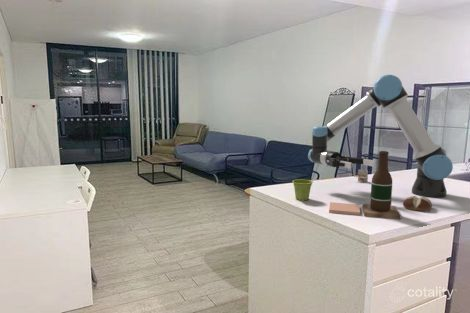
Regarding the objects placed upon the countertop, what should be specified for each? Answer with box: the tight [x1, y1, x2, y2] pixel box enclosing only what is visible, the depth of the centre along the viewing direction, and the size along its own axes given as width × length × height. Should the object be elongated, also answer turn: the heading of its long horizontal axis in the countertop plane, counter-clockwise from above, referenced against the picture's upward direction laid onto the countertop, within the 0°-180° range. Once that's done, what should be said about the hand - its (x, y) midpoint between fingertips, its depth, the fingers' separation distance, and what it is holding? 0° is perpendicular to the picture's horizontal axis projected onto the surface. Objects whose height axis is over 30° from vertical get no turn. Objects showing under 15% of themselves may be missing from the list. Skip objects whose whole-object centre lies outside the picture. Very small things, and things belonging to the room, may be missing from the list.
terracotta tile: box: [328, 201, 361, 216], centre depth 138 cm, size 12×12×1 cm
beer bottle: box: [369, 150, 393, 212], centre depth 133 cm, size 8×8×24 cm
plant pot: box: [292, 178, 314, 202], centre depth 155 cm, size 9×9×9 cm
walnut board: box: [361, 203, 401, 220], centre depth 134 cm, size 13×13×2 cm
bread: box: [402, 195, 433, 213], centre depth 141 cm, size 11×11×5 cm
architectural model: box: [354, 169, 369, 183], centre depth 194 cm, size 3×7×7 cm, turn 52°
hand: (363, 164), depth 143 cm, fingers open, 13 cm apart
